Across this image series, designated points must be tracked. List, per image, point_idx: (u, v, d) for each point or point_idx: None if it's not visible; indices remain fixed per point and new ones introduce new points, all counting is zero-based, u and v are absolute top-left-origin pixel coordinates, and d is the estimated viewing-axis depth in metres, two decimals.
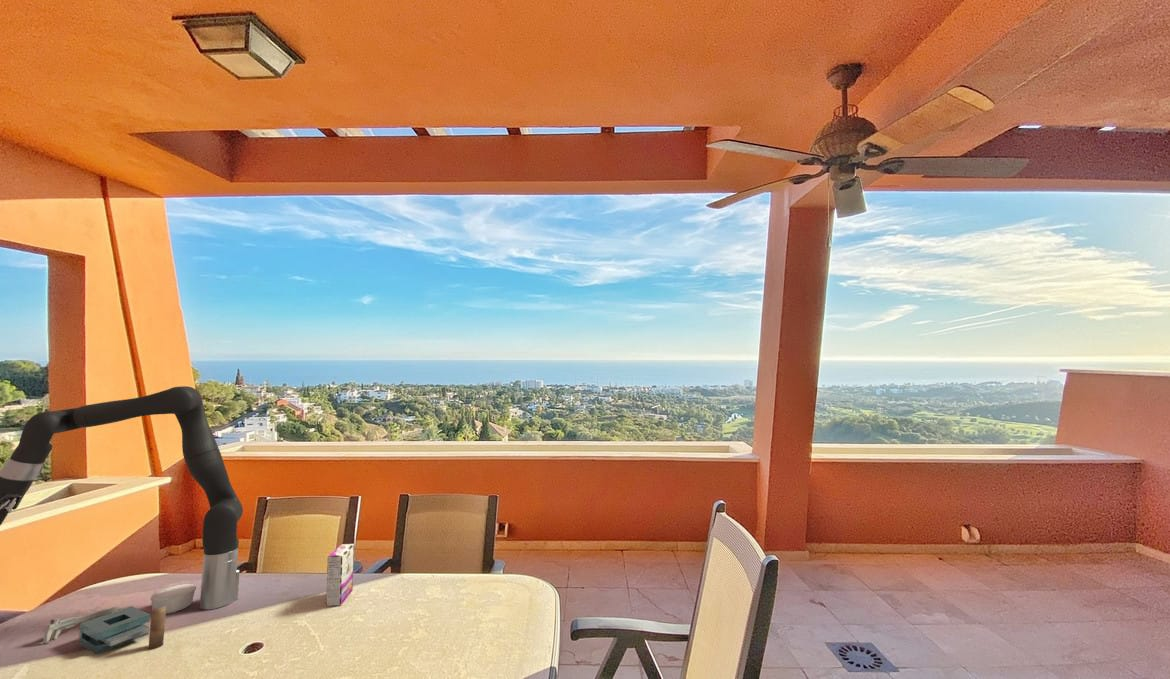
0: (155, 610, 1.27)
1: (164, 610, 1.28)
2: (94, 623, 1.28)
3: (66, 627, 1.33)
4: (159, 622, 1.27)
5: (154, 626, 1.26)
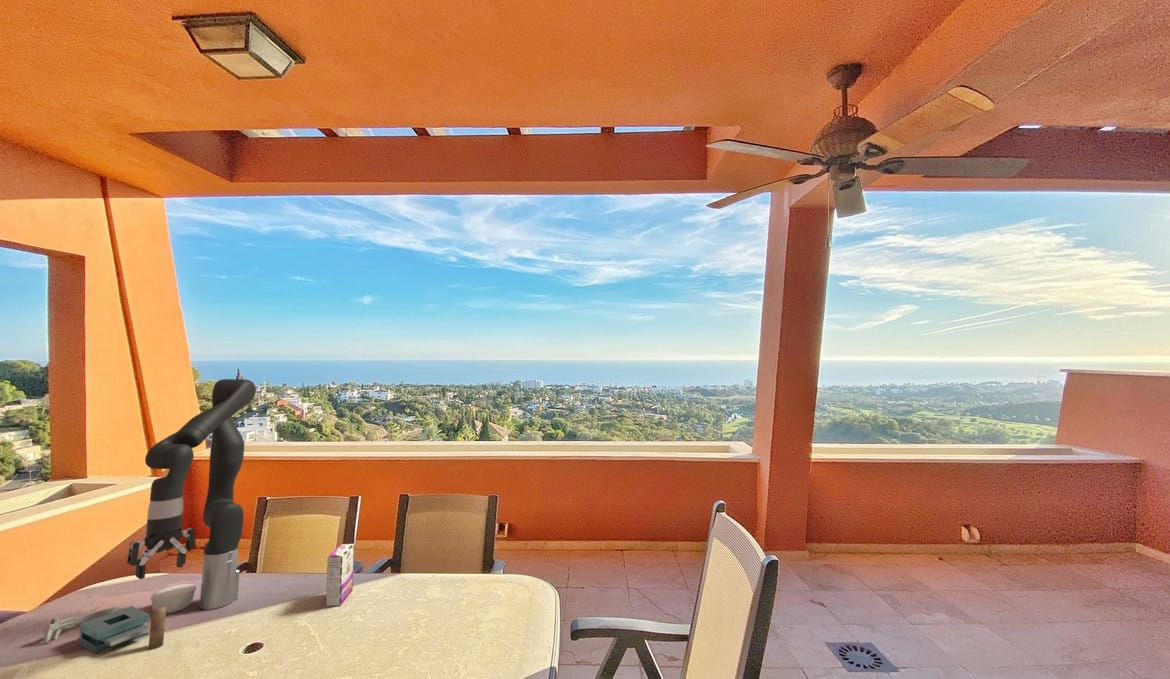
0: (156, 610, 1.27)
1: (164, 610, 1.28)
2: (94, 623, 1.28)
3: (66, 627, 1.33)
4: (159, 622, 1.27)
5: (154, 626, 1.26)
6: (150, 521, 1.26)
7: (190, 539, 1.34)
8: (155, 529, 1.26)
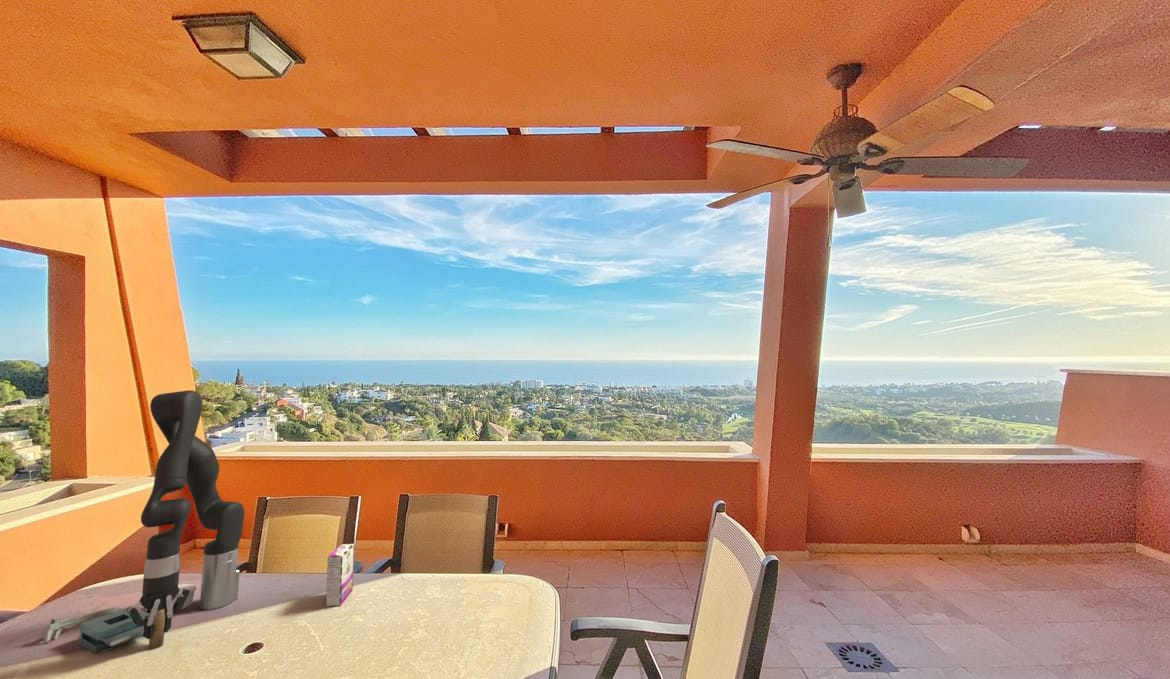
0: None
1: (164, 610, 1.28)
2: (94, 623, 1.28)
3: (66, 627, 1.33)
4: (159, 622, 1.27)
5: (154, 626, 1.26)
6: (146, 580, 1.25)
7: (181, 601, 1.31)
8: (152, 588, 1.25)
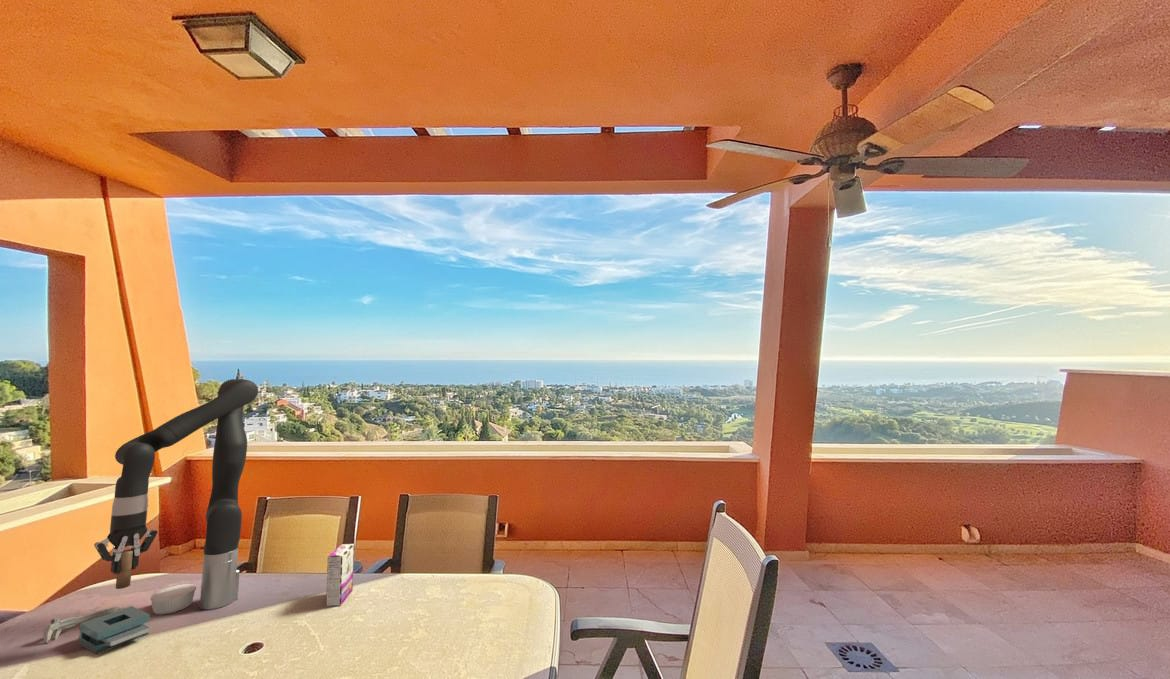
0: (123, 552, 1.31)
1: (131, 552, 1.32)
2: (94, 623, 1.28)
3: (66, 627, 1.33)
4: (126, 563, 1.31)
5: (121, 567, 1.30)
6: (114, 517, 1.29)
7: (149, 540, 1.36)
8: (119, 525, 1.29)
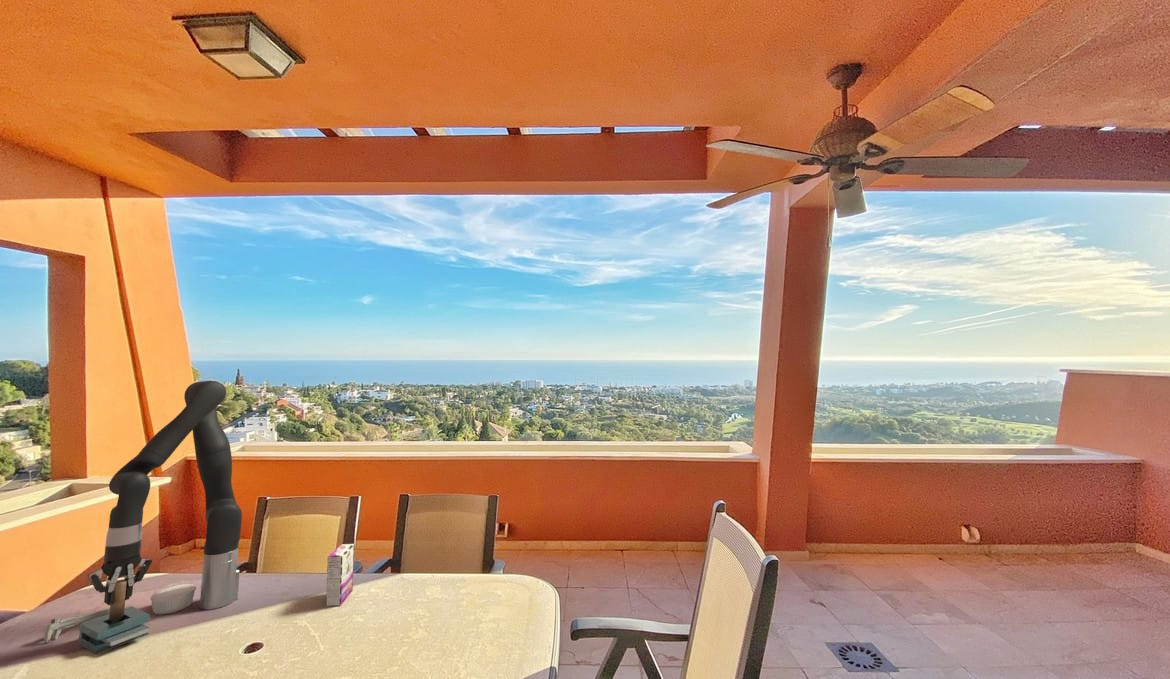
0: None
1: (125, 582, 1.32)
2: (94, 623, 1.28)
3: (67, 627, 1.33)
4: (120, 594, 1.31)
5: (115, 597, 1.30)
6: (108, 548, 1.29)
7: (143, 570, 1.35)
8: (113, 556, 1.29)
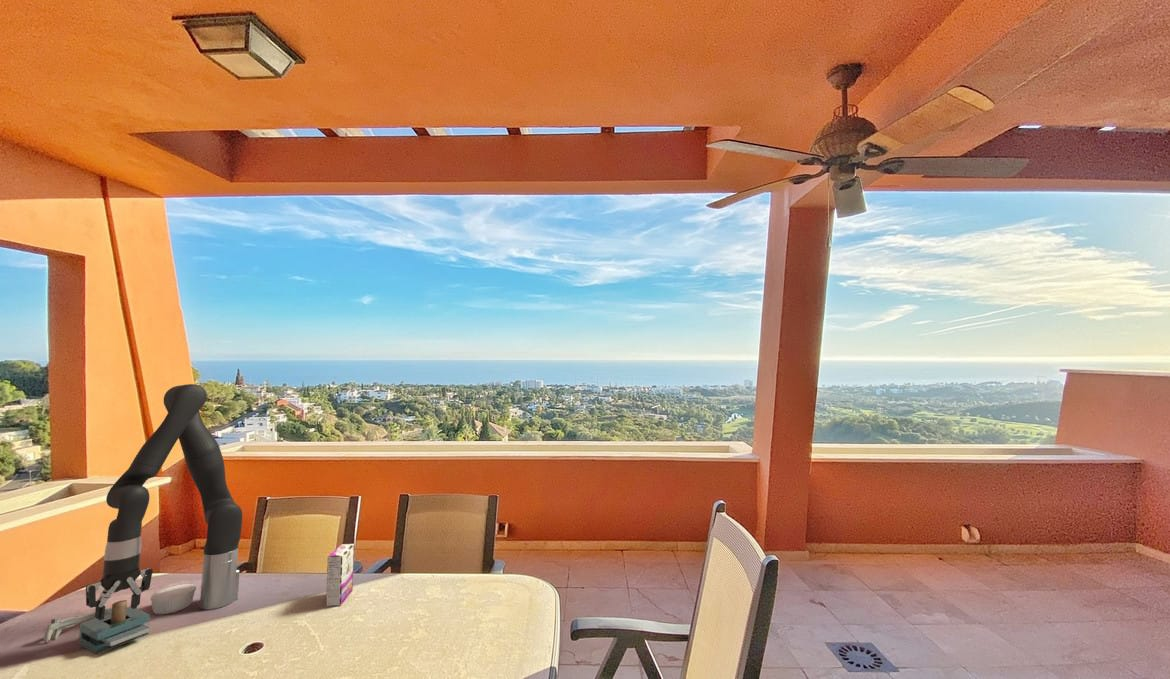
0: (116, 604, 1.31)
1: (125, 603, 1.32)
2: (94, 623, 1.28)
3: (67, 627, 1.33)
4: (120, 615, 1.30)
5: (115, 619, 1.30)
6: (107, 562, 1.29)
7: (147, 579, 1.36)
8: (111, 570, 1.28)
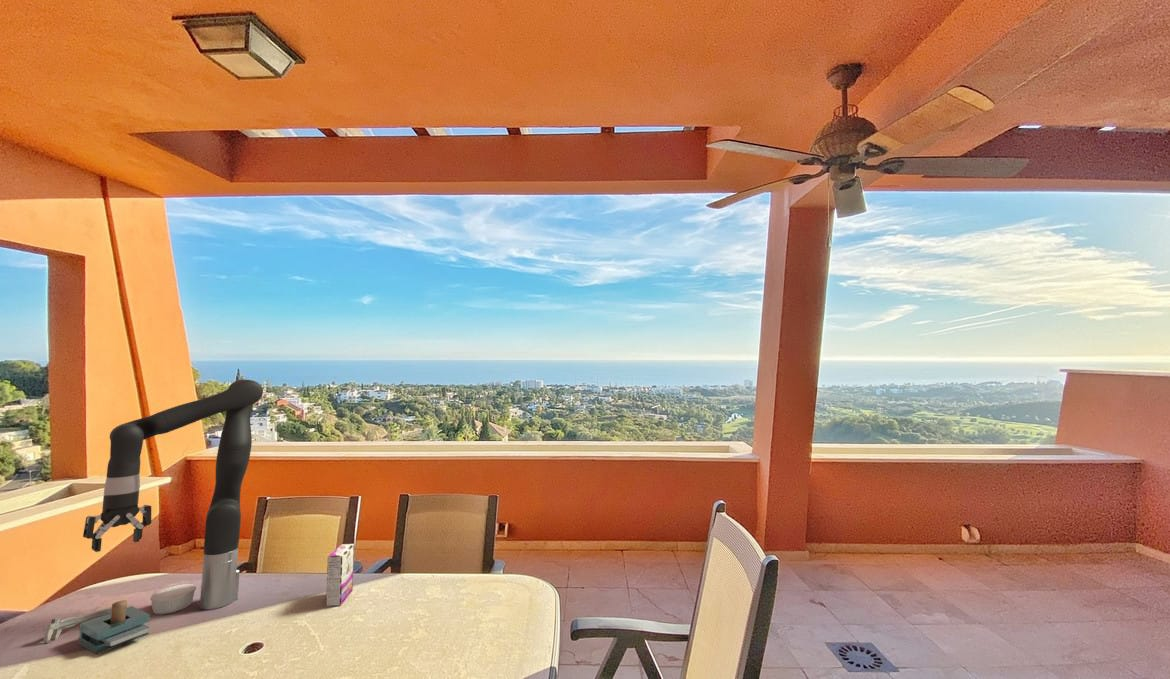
0: (116, 604, 1.31)
1: (125, 604, 1.32)
2: (94, 623, 1.28)
3: (67, 626, 1.33)
4: (120, 615, 1.30)
5: (115, 619, 1.30)
6: (106, 497, 1.32)
7: (147, 515, 1.40)
8: (111, 504, 1.32)
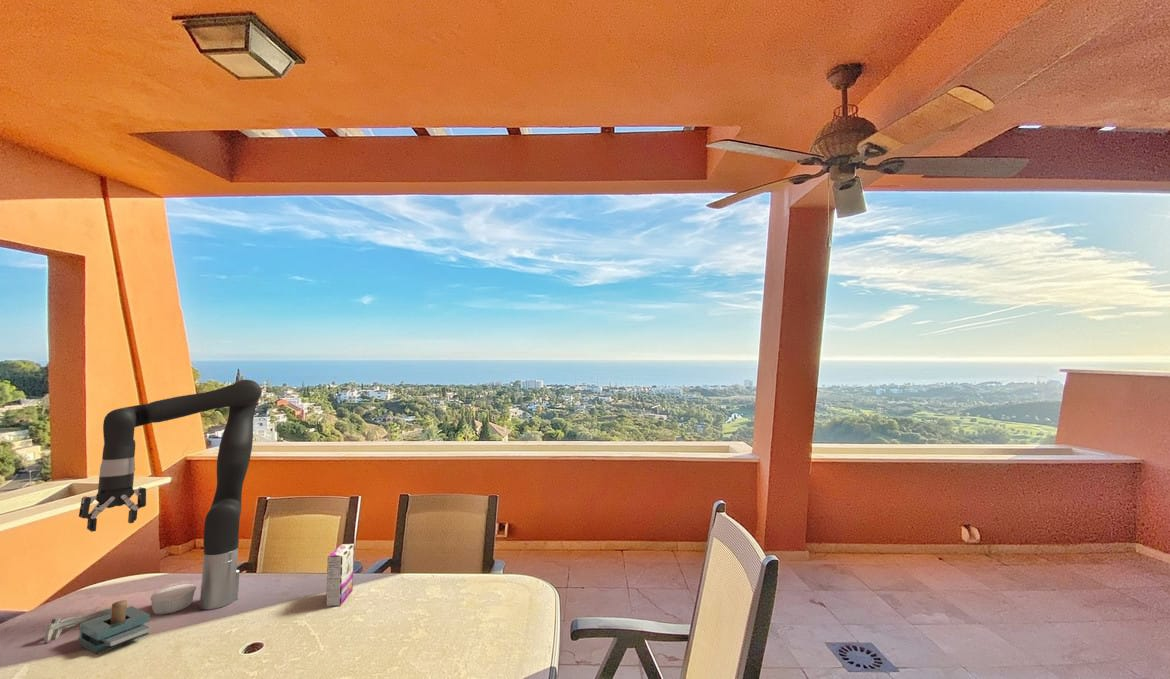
0: (116, 604, 1.31)
1: (125, 604, 1.32)
2: (94, 623, 1.28)
3: (67, 626, 1.33)
4: (120, 615, 1.30)
5: (115, 619, 1.30)
6: (102, 478, 1.35)
7: (142, 497, 1.43)
8: (106, 485, 1.35)
